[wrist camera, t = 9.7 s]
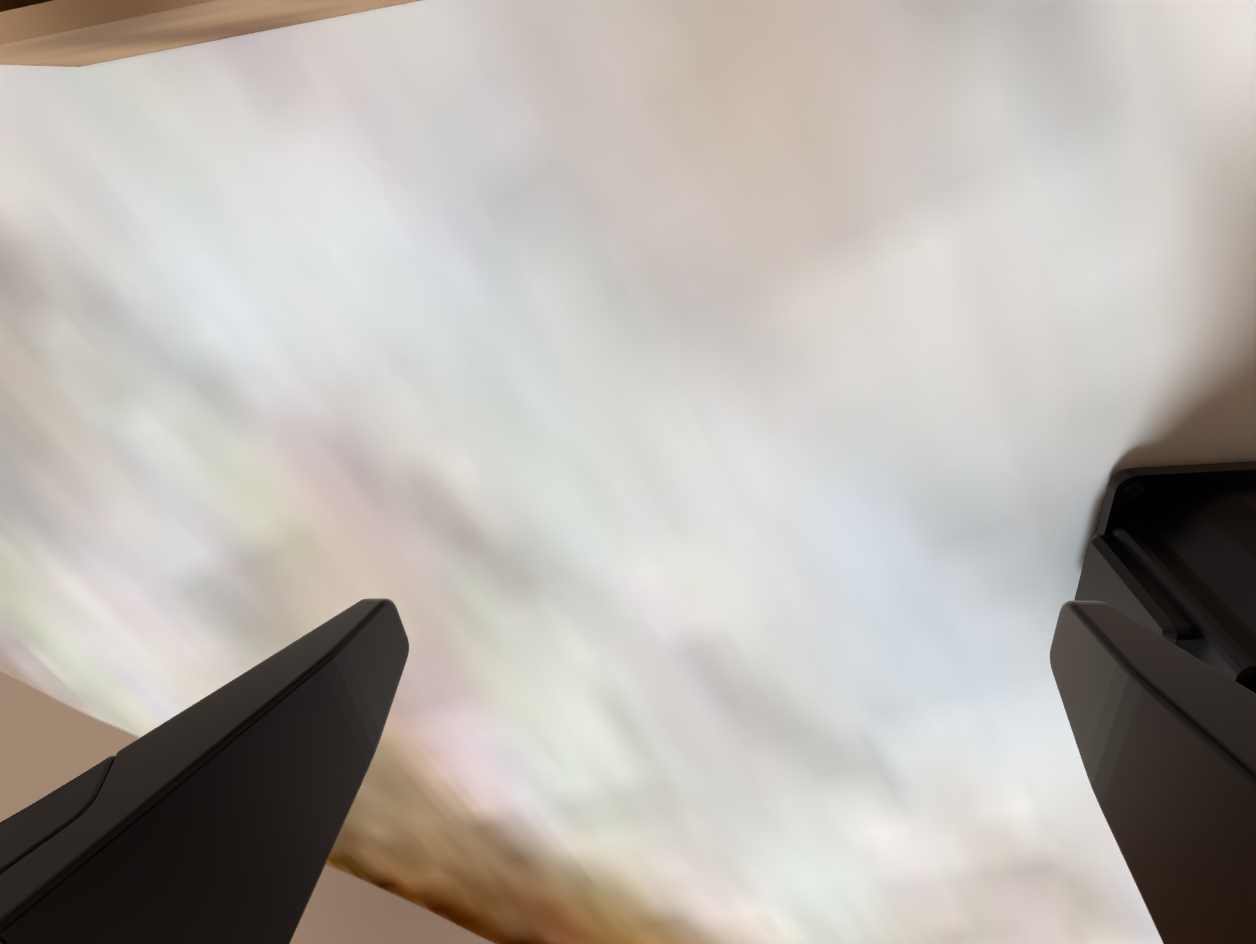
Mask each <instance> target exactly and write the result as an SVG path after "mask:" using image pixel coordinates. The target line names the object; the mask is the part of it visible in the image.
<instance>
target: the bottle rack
mask: <svg viewBox="0 0 1256 944" xmlns="http://www.w3.org/2000/svg"><path fill="white" fill-rule="evenodd" d="M414 1H419V0H0V65H30V66H64V67H80V66H85V65H91V64H96V63H101V62H106V61H111V60H116V59H121V58H127V57H132V56H137V55H142V54H147V53H152V52H157V51H163V50H168V49H173V48H178V47H183V46H188V45H193V44H199V43H204V42H209V41H214V40H219V39H224V38H229V37H234V36H240V35H245V34H250V33H255V32H260V31H265V30H270V29H276V28H281V27H286V26H291V25H296V24H301V23H306V22H312V21H317V20H322V19H327V18H332V17H337V16H342V15H348V14H353V13H358V12H363V11H368V10H373V9H378V8H383V7H389V6H394V5H399V4H404V3H409V2H414Z"/></svg>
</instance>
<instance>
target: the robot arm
mask: <svg viewBox="0 0 1256 944" xmlns="http://www.w3.org/2000/svg"><path fill="white" fill-rule="evenodd" d="M1134 483H1137V484H1136V486H1135V487H1134V488H1132V489H1131V490H1127V491H1125V490H1126V488H1127V487H1128V486H1129V485H1131V484H1134ZM408 652H409V642H408V638H407V635H406V632H405V630H404V627H403V624H402V621H401V619H400V616H399V613H398V611H397V608H396V606H395V604H394V603H393V602H392V601H391V600H389V599H364V600H361V601H359V602H358V603H356V604H354V605H353V606H351V607H350V608H348V609H346V610H345V611H343V612H342V613H340V614H338V615H337V616H335V617H334V618H332V619H330V620H329V621H327V622H326V623H324V624H322V625H321V626H319V627H318V628H316V629H314V630H313V631H311V632H310V633H308V634H306V635H305V636H303V637H301V638H300V639H298V640H297V641H295V642H293V643H292V644H290V645H289V646H287V647H285V648H284V649H282V650H281V651H279V652H277V653H276V654H274V655H273V656H271V657H269V658H268V659H266V660H265V661H263V662H261V663H260V664H258V665H256V666H255V667H253V668H252V669H250V670H248V671H247V672H245V673H244V674H242V675H240V676H239V677H237V678H236V679H234V680H232V681H231V682H229V683H228V684H226V685H224V686H223V687H221V688H220V689H218V690H216V691H215V692H213V693H212V694H210V695H208V696H207V697H205V698H203V699H202V700H200V701H199V702H197V703H195V704H194V705H192V706H191V707H189V708H187V709H186V710H184V711H183V712H181V713H179V714H178V715H176V716H175V717H173V718H171V719H170V720H168V721H167V722H165V723H163V724H162V725H160V726H159V727H157V728H155V729H154V730H152V731H150V732H149V733H147V734H146V735H144V736H142V737H141V738H139V739H138V740H136V741H134V742H133V743H131V744H130V745H128V746H126V747H125V748H123V749H122V750H120V751H119V752H118V753H117V754H116V756H110V757H108V758H107V759H105V760H104V761H102V762H101V763H99V764H97V765H96V766H94V767H92V768H91V769H89V770H88V771H86V772H85V773H83V774H81V775H80V776H78V777H77V778H75V779H73V780H72V781H70V782H68V783H66V784H65V785H63V786H62V787H60V788H58V789H57V790H55V791H53V792H52V793H50V794H48V795H47V796H46V797H43V798H42V799H40V800H39V801H37V802H35V803H33V804H32V805H30V806H28V807H27V808H25V809H23V810H21V811H20V812H18V813H16V814H15V815H13V816H11V817H9V818H8V819H6V820H4V821H2V822H0V944H290V942H291V939H292V937H293V935H294V933H295V931H296V928H297V926H298V924H299V922H300V919H301V917H302V915H303V913H304V911H305V908H306V906H307V904H308V902H309V899H310V897H311V895H312V893H313V890H314V888H315V886H316V884H317V882H318V879H319V877H320V875H321V873H322V870H323V868H324V866H325V864H326V862H327V859H328V857H329V855H330V853H331V850H332V848H333V846H334V844H335V842H336V839H337V837H338V835H339V833H340V830H341V828H342V826H343V824H344V822H345V819H346V817H347V815H348V813H349V810H350V808H351V806H352V804H353V802H354V799H355V797H356V795H357V793H358V790H359V788H360V786H361V784H362V781H363V779H364V777H365V775H366V773H367V770H368V768H369V766H370V763H371V761H372V759H373V756H374V754H375V752H376V749H377V746H378V744H379V741H380V738H381V735H382V732H383V729H384V726H385V723H386V720H387V717H388V714H389V711H390V708H391V705H392V702H393V699H394V696H395V693H396V690H397V687H398V684H399V681H400V678H401V675H402V672H403V669H404V666H405V663H406V660H407V657H408ZM1050 663H1051V668H1052V671H1053V675H1054V678H1055V681H1056V684H1057V687H1058V690H1059V693H1060V696H1061V699H1062V702H1063V705H1064V708H1065V711H1066V714H1067V717H1068V720H1069V723H1070V726H1071V729H1072V732H1073V735H1074V738H1075V741H1076V744H1077V747H1078V750H1079V753H1080V756H1081V759H1082V762H1083V765H1084V768H1085V770H1086V773H1087V776H1088V779H1089V781H1090V784H1091V787H1092V789H1093V791H1094V794H1095V796H1096V798H1097V801H1098V803H1099V805H1100V808H1101V810H1102V812H1103V814H1104V816H1105V818H1106V821H1107V823H1108V825H1109V827H1110V829H1111V831H1112V833H1113V836H1114V838H1115V840H1116V842H1117V844H1118V846H1119V849H1120V851H1121V853H1122V855H1123V857H1124V859H1125V861H1126V864H1127V866H1128V868H1129V870H1130V872H1131V874H1132V877H1133V879H1134V881H1135V883H1136V885H1137V887H1138V889H1139V892H1140V894H1141V896H1142V898H1143V900H1144V902H1145V905H1146V907H1147V909H1148V911H1149V913H1150V915H1151V917H1152V920H1153V922H1154V924H1155V926H1156V928H1157V930H1158V933H1159V935H1160V937H1161V939H1162V941H1163V943H1164V944H1256V462H1240V463H1221V464H1203V465H1184V466H1165V467H1147V468H1130V469H1125V470H1122V471H1120V472H1118V473H1116V474H1115V475H1114V476H1113V477H1112V478H1111V480H1110V482H1109V484H1108V487H1107V491H1106V495H1105V499H1104V503H1103V507H1102V511H1101V515H1100V519H1099V523H1098V527H1097V531H1096V535H1095V536H1094V537H1093V538H1092V539H1091V541H1090V542H1089V544H1088V548H1087V552H1086V556H1085V560H1084V564H1083V568H1082V572H1081V576H1080V580H1079V584H1078V588H1077V592H1076V596H1075V601H1069V602H1066V603H1065V604H1064V605H1063V606H1062V608H1061V610H1060V613H1059V617H1058V621H1057V625H1056V629H1055V633H1054V637H1053V641H1052V645H1051V650H1050Z"/></svg>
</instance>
